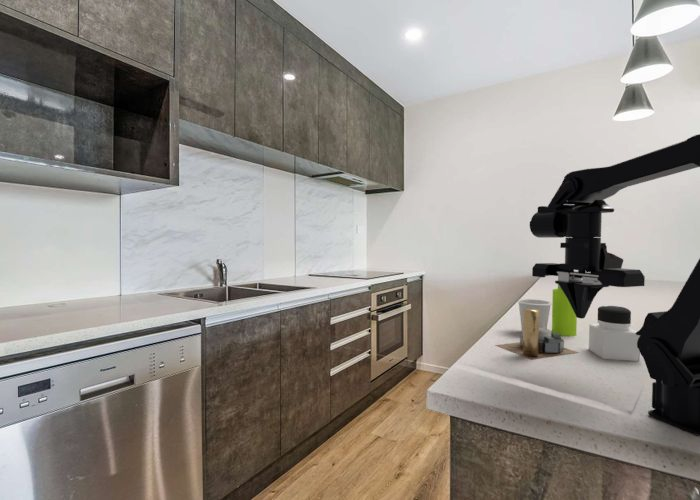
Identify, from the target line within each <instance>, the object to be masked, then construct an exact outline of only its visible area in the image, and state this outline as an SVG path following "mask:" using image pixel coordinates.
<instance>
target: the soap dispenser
mask: <svg viewBox="0 0 700 500" xmlns="http://www.w3.org/2000/svg"><path fill="white" fill-rule="evenodd" d="M551 305H552V307H551V310H552V311H551V333H559V334H561V337H562V336H564V337H575V336H577V325H578V324H577V323H578V321H577V317H576V315H575V313H574V311H573V309H572V307H571V305H570V303H569V301H568V299H567V297H566V295H565V294H564V292H563V290H562V289H561V287H560V286H559V284H557V288H554V289H552V302H551Z"/></svg>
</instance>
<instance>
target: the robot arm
mask: <svg viewBox="0 0 700 500" xmlns="http://www.w3.org/2000/svg"><path fill="white" fill-rule="evenodd" d="M696 168H700V133H699V134H695V135H692V136H690V137H689V138H686V139H685V140H683V141H680V142H677V143H674V144H671V145H668V146H665V147H662V148H660V149H657V150H654V151H651V152H648V153H645V154H642V155H639V156H636V157H633V158H630V159H628V160H625V161H622V162H621V161H620V162H618V163H616V164H613V165H609V166H603V167H594V168H593V167H592V168H584V169H579V170H574V171H570V172H568V173H566V174H565V176H563V177H564V178H563V180H562V182H561V184H560V186H559V187H558V189H557V190H556V192H555V193H554V196H553V197H552V198H551V200H550V201H549V203H548V206H547V205H546V206H543V205H541V206H539V205H538V207H537V212H535V213H534V214H533V215H532V216H531V219H530V222H529V229H530V232H531V234H532V235H533V236H535V237H536V238H539V239H541V238H543V239H545V238H549V239H550V238H565V242H560V246H559V247H560V249H564V263H554V262H545V263H543V262H541V263H540V262H539V263H535V264H534V265H533V267H532V268H531V269H532V270H531V272H532V273H531V274H532V275H531V277H538V278H545V277H547V276H550V277H551V276H555V277H557V280H554V283H555V284H557V285H558V284H559V286H560V287H561V289H562V290H563V292H564V294H565V295H566V297H567V299H568V301H569V303H570V305H571V307H572V309H573V311H574V313H575V315H576V317H577V318H578V319H585V317H586V316H587V314H588V312H589V309H590V308H591V305H592V302H593V301H594V299H595V298H596V296H597V294H598V293H599V292H600V291H601V290H602V289H604V288H609V287H617V288H631V287H632V288H634V287H645V281H646V280H645V279H646V278H645V275H644V273H643V272H642V271H641V269H635V268H622V267H623V265H624V259H623V258H622V257H620V256H617V255H616V254H614V253H611V252H608V249H607V247H608V246H607V245H606V244H607V243H606V242H602V218H603V217H602V214H608V213H609V214H610V213H614V211H615V209H614V207H612V206H610V205H609V204H608V203H606V199H609V198H611V197H612V196H614V195H616V194H617V193H619V191H621V190H623V189H626V188H629V187H631V186H636V185H639V184H642V183H646V182H650V181H653V180H657V179H660V178H664V177H668V176H671V175H675V174H678V173H682V172H687V171H689V170H692V169H696ZM677 295H678V296H676V299H675V300H674V302H673V304H672V306H671V307H670V308H669V309H668V310H666V311H665V310H664V311H655V312H653V311H652V312H648V313H647V315H646V316H645V318H644V320H643V323H642V327H640V329H639V330H638V331H636V335H640V337H639V338H638V341H637V348H638V349H639V351H640V355H641V356H642V358H643V360H644V362H645V363H644V364H645V366H646V369H647V372H648V374H649V377H650V379H651V380H655V381H653V382H652V383H651V386H652V388H651V391H652V393H651V407H652V409H651V410H648V412H647V414H648V415H649V416H650V417H653V418H656V419H658V420H660V421H662V422H665V423H668V424H670V425H673V426H675V427H677V428H679V429H682V430H683V431H684V430H685V431H687V432H689V433H692V434H694V435H696V436H700V257H699V258H698V260H697V262H696V263H695V266H694V268H692V271H691V272H690V273H689V276H688V278H687V280H686V281H685V283H684V285H683V286H682V289H681V290H680V292H679V294H677Z"/></svg>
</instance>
